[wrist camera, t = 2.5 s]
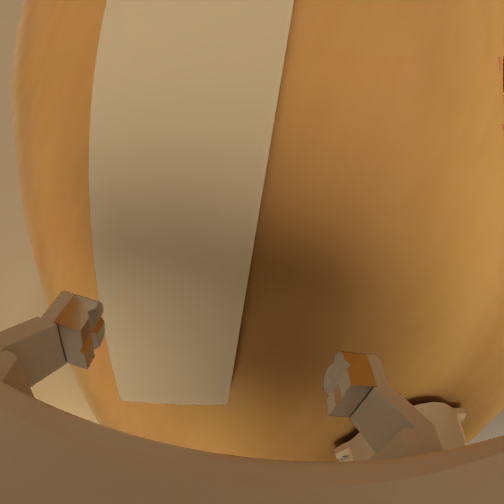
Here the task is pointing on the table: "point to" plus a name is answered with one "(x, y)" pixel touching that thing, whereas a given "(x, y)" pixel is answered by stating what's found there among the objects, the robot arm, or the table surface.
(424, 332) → the table surface
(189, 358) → the decorative molding
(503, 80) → the figurine
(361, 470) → the robot arm
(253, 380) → the table surface
